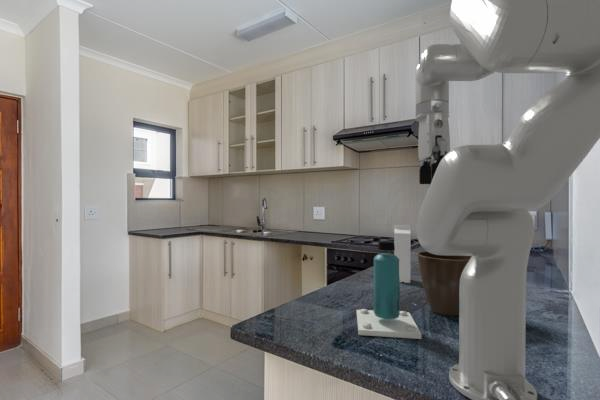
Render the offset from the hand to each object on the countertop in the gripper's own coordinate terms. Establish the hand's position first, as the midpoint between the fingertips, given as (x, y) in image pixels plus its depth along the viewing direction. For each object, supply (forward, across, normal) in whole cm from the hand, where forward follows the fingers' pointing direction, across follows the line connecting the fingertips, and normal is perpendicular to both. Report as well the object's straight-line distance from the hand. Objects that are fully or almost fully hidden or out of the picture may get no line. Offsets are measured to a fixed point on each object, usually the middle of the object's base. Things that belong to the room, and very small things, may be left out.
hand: (431, 182), depth 78 cm
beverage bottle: (+35, +2, +10) cm, 36 cm away
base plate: (+36, +2, +11) cm, 37 cm away
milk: (+35, +48, -3) cm, 60 cm away
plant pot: (+36, +14, -8) cm, 39 cm away
